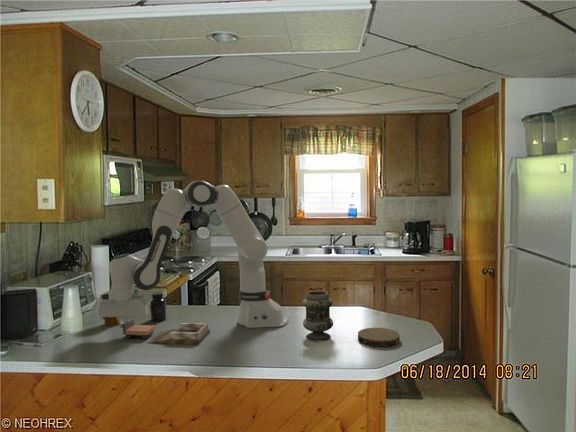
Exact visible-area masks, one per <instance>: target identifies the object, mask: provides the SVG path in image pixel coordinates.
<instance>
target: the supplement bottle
mask: <svg viewBox="0 0 576 432" xmlns="http://www.w3.org/2000/svg"><path fill="white" fill-rule="evenodd" d="M151 296H152V297H151V298H152V299H151V300H150V303H149V304H150V306H149V307H150V320H151V321H152V322H162V321H165V320H167V306H166V305H167V302H166V299H165V298H164V293H163V292H154V293H152V294H151Z"/></svg>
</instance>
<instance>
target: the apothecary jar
mask: <svg viewBox="0 0 576 432" xmlns="http://www.w3.org/2000/svg"><path fill="white" fill-rule="evenodd" d="M302 305H303V306H304V307H305V318H304V319H303V321H302V325H303V328H304V329H305V330H307V331H309V333H307V334H306V336H305V339H307V340H308V341H312V342H324V341H328V340H330V339H331V337H332V336H331V335H330V333H327V331H329V330H330V329H332V328H333V326H334V321H333V319H332V318H331V315H330V313H331V312H330V310H331V309H330V308H331V307H332V306H333V299H332V298H330V296H329V293H328V291H325V290H311V291H308V292H306V297H305V298H304V299H303V300H302Z"/></svg>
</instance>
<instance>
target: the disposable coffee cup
mask: <svg viewBox="0 0 576 432" xmlns="http://www.w3.org/2000/svg"><path fill="white" fill-rule="evenodd" d="M103 319H104V324H105V326H107V327H113V326H118V325H120V324H119V322H118V321H117V317H103Z"/></svg>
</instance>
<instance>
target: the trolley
mask: <svg viewBox="0 0 576 432" xmlns="http://www.w3.org/2000/svg"><path fill="white" fill-rule="evenodd" d="M155 329H156V325H153V324H152V325H150V324H148V325H147V324H146V325H145V324H135V320H134V319H132V320H131V319H130V321H129V322H128V323H127V324H125V325H123V328H122V335H124V336H125V339H127V340H129V339H131V338H132V337H134V336H141V338H142V339H143V340H146V339H148V338H149V337H150V336H152V335H153V334H154V331H155Z"/></svg>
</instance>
